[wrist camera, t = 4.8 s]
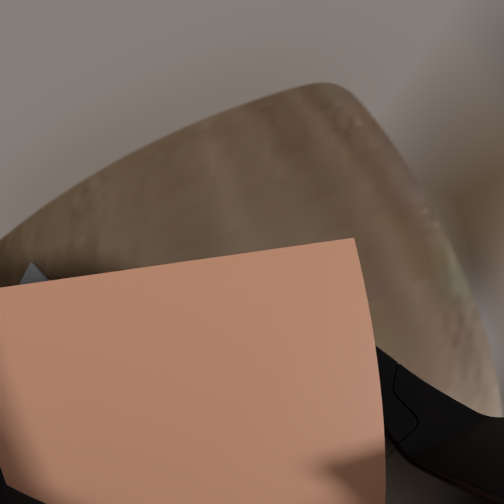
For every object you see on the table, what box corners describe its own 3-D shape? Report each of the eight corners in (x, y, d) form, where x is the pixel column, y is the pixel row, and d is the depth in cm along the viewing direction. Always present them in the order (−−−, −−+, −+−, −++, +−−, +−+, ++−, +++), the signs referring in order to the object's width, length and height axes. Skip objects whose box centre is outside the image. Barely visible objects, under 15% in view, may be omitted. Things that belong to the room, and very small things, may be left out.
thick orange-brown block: (296, 388, 14) (384, 512, 2) (180, 399, 14) (6, 484, 2) (286, 320, 15) (354, 238, 3) (172, 333, 15) (-22, 290, 3)
